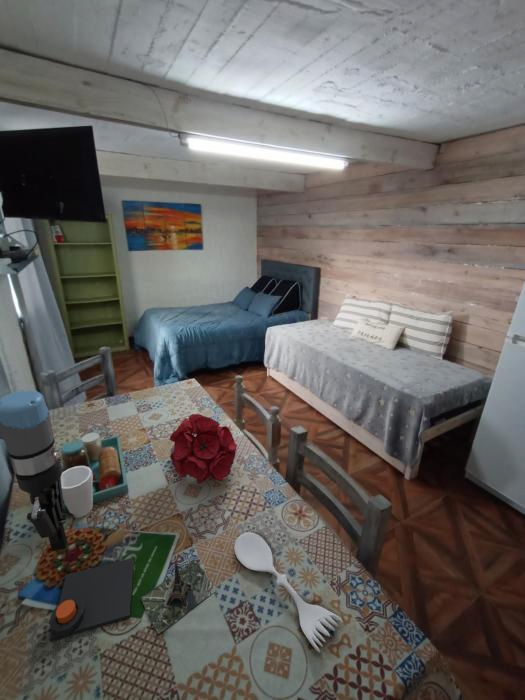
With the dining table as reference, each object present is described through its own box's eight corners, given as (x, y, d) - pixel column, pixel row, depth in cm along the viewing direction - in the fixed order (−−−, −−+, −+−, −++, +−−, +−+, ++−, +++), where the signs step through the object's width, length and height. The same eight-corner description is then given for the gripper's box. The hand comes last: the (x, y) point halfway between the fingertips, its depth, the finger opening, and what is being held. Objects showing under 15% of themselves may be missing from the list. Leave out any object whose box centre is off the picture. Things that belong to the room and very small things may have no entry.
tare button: (55, 626, 68) (53, 620, 67) (60, 608, 71) (58, 602, 71) (74, 620, 69) (72, 615, 68) (78, 603, 72) (76, 597, 72)
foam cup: (87, 493, 105) (80, 461, 101) (104, 505, 101) (98, 473, 96) (58, 513, 98) (49, 480, 93) (75, 527, 93) (66, 493, 89)
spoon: (317, 661, 66) (319, 652, 64) (227, 550, 88) (227, 541, 87) (343, 628, 71) (344, 619, 70) (252, 532, 94) (252, 523, 92)
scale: (48, 643, 67) (45, 635, 66) (66, 577, 80) (63, 569, 79) (130, 619, 72) (128, 611, 71) (134, 560, 85) (133, 552, 84)
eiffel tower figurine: (195, 559, 85) (193, 523, 80) (216, 590, 78) (215, 552, 73) (140, 599, 76) (134, 560, 71) (158, 638, 69) (153, 597, 64)
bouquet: (159, 493, 114) (208, 498, 94) (140, 431, 115) (183, 423, 95) (205, 466, 131) (255, 465, 111) (188, 411, 131) (234, 401, 111)
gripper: (47, 484, 59) (70, 570, 68) (67, 442, 71) (84, 519, 79) (0, 492, 57) (30, 579, 66) (28, 446, 69) (50, 526, 77)
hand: (60, 546), depth 72 cm, fingers closed
